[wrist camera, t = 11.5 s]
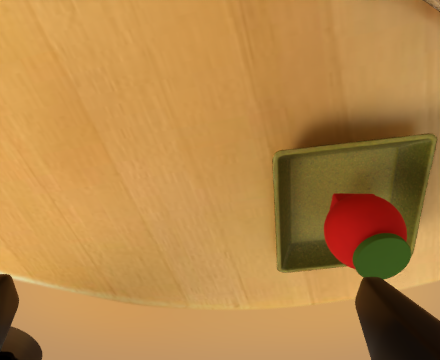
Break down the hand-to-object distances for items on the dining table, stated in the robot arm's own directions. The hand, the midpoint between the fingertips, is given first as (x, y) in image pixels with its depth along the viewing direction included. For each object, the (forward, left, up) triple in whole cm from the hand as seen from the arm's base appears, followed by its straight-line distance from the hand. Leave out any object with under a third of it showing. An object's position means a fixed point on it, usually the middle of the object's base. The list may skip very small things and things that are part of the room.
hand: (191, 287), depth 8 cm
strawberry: (-4, -9, -10) cm, 13 cm away
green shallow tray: (-4, -9, -12) cm, 15 cm away
